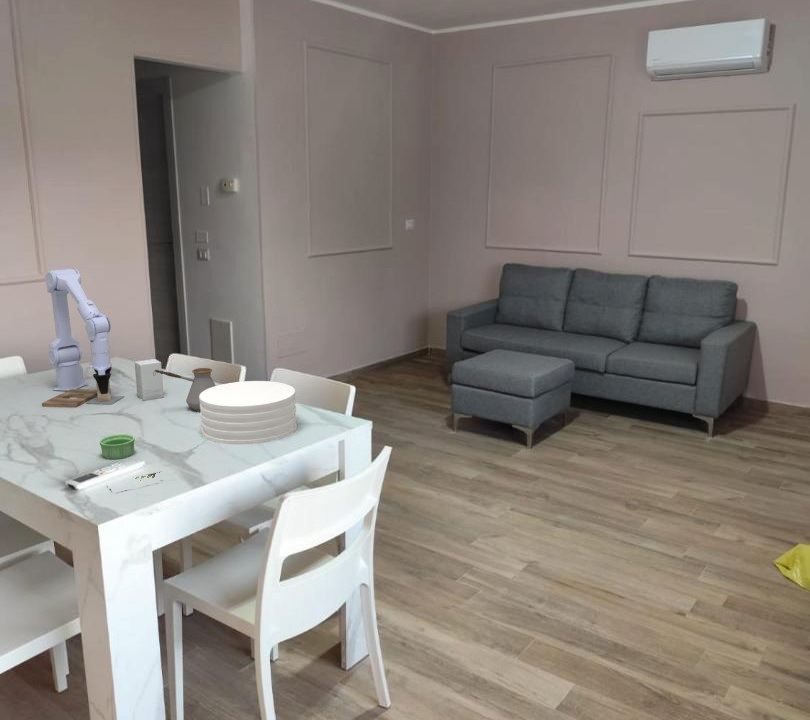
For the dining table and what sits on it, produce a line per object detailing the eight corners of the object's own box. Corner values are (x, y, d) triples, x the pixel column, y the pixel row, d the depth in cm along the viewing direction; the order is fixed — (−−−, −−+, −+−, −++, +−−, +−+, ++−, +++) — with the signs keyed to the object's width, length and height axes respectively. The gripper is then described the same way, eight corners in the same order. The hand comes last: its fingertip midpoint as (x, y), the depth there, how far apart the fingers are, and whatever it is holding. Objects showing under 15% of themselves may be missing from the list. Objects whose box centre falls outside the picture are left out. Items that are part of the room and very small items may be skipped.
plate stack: (182, 438, 215) (179, 400, 213) (236, 411, 241) (234, 377, 238) (264, 449, 205) (262, 410, 203) (312, 421, 231) (311, 385, 228)
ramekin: (135, 458, 199) (133, 443, 198) (99, 462, 196) (97, 446, 195) (136, 447, 207) (135, 432, 206) (102, 450, 205) (101, 435, 204)
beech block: (98, 398, 255) (96, 381, 253) (110, 397, 256) (109, 380, 255) (98, 401, 251) (96, 384, 250) (110, 400, 252) (109, 383, 251)
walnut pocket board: (71, 392, 264) (71, 388, 264) (103, 393, 263) (103, 389, 263) (42, 406, 247) (41, 403, 247) (76, 407, 245) (75, 404, 245)
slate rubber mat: (99, 396, 258) (99, 395, 258) (124, 397, 257) (124, 396, 257) (86, 403, 250) (85, 402, 250) (111, 404, 249) (111, 403, 249)
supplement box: (164, 397, 257) (161, 362, 254) (142, 401, 253) (139, 365, 250) (158, 392, 263) (155, 358, 260) (137, 396, 259) (133, 361, 256)
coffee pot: (216, 401, 252) (213, 358, 249) (227, 409, 243) (224, 364, 240) (152, 411, 241) (148, 366, 238) (161, 420, 232) (157, 373, 228)
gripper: (88, 348, 255) (92, 386, 258) (86, 357, 242) (90, 397, 245) (110, 347, 257) (114, 384, 260) (109, 355, 244) (113, 395, 247)
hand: (104, 390), depth 253 cm, fingers open, 7 cm apart
